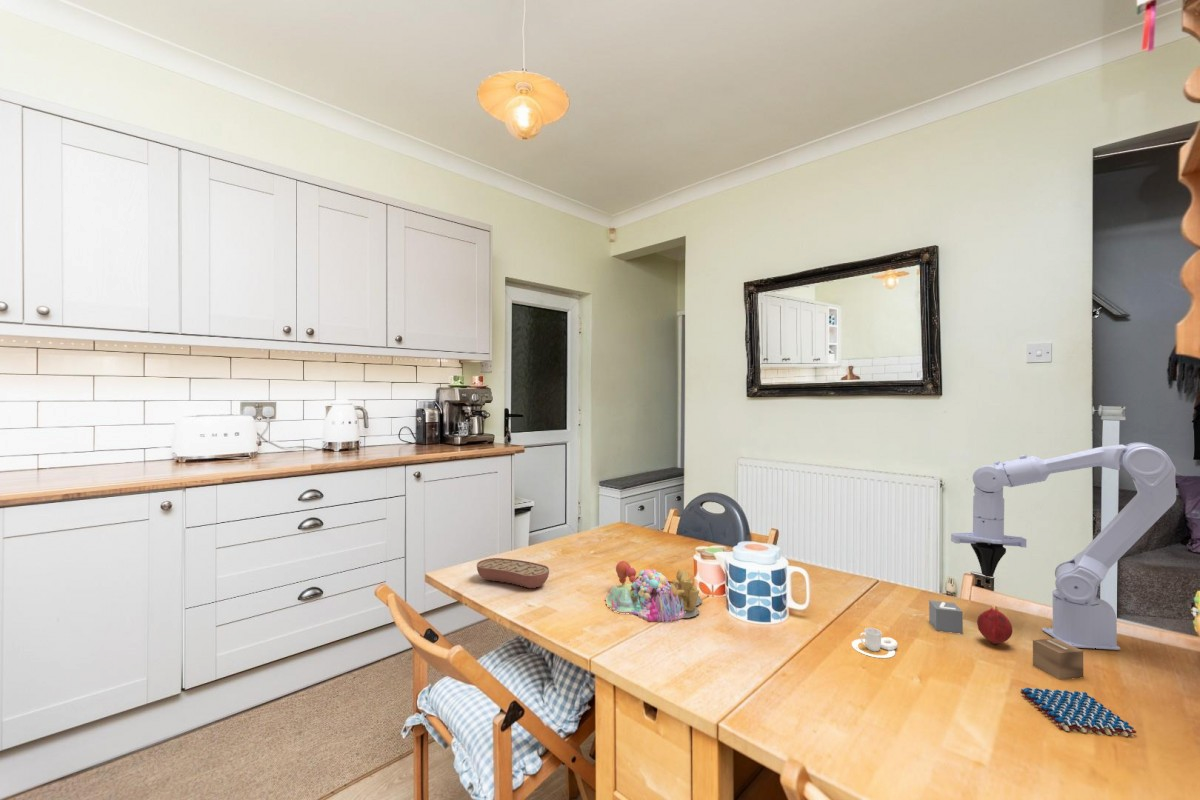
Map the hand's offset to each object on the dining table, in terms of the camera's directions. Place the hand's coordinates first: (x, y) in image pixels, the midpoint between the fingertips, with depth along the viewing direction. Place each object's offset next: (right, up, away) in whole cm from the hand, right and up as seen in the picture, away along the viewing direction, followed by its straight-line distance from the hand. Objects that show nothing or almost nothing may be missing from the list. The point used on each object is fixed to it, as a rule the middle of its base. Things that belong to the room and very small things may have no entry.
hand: (987, 575), depth 117 cm
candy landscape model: (-76, -12, +12) cm, 78 cm away
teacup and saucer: (-32, -11, -15) cm, 37 cm away
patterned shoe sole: (-115, -12, +26) cm, 119 cm away
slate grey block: (-12, -11, -4) cm, 17 cm away
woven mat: (-13, -11, -35) cm, 39 cm away
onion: (-7, -11, -11) cm, 17 cm away
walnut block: (-4, -11, -22) cm, 25 cm away
